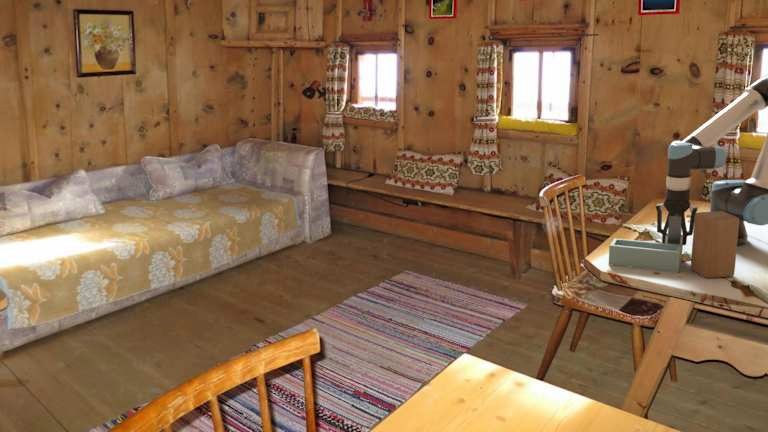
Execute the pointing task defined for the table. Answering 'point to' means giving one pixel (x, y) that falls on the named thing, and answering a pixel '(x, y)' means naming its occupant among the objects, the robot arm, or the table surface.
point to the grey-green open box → (646, 255)
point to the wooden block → (714, 244)
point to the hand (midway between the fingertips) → (673, 252)
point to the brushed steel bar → (674, 229)
